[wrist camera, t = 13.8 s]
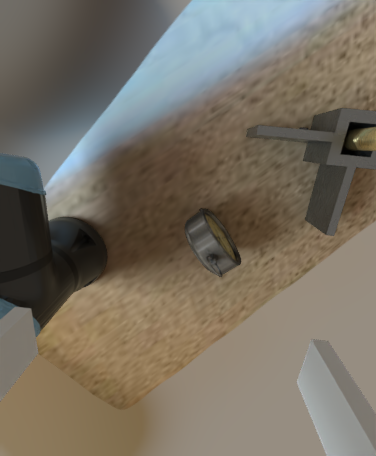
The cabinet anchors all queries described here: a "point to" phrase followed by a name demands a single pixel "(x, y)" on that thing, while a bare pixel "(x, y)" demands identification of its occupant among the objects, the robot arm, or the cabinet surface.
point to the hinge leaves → (327, 159)
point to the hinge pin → (360, 139)
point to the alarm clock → (211, 243)
